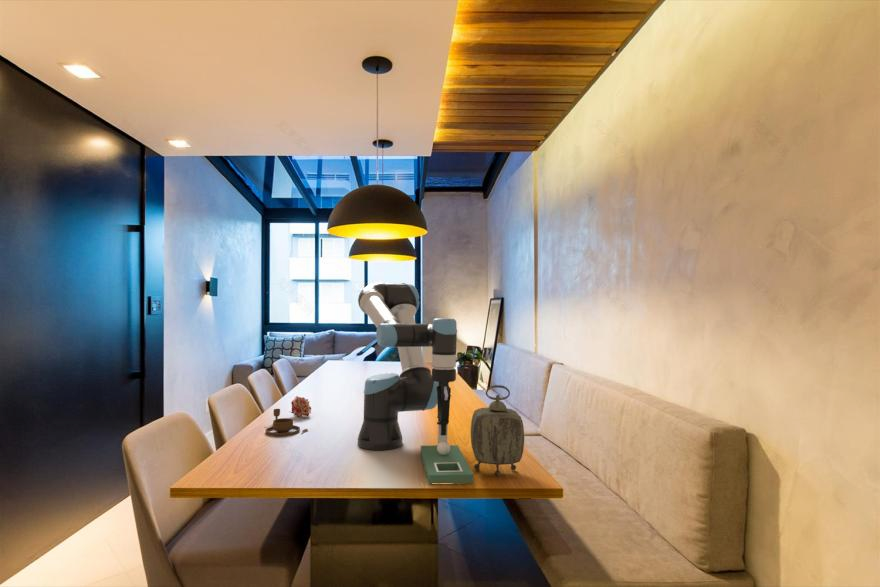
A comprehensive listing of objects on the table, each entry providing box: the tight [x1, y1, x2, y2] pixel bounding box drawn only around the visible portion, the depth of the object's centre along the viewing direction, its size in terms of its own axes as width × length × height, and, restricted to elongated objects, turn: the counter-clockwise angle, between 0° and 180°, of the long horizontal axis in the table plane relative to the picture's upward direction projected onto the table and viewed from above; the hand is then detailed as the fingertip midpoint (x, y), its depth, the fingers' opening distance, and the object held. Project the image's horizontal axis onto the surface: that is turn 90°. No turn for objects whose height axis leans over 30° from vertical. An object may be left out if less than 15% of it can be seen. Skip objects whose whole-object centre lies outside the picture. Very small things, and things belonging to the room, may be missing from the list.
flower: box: [288, 395, 312, 419], centre depth 192 cm, size 10×9×8 cm
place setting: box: [264, 408, 309, 437], centre depth 172 cm, size 18×20×6 cm
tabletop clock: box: [470, 384, 525, 477], centre depth 131 cm, size 14×9×25 cm, turn 91°
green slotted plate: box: [420, 444, 474, 484], centre depth 134 cm, size 12×26×2 cm, turn 7°
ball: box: [436, 441, 451, 455], centre depth 138 cm, size 4×4×4 cm
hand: (442, 444), depth 141 cm, fingers closed
